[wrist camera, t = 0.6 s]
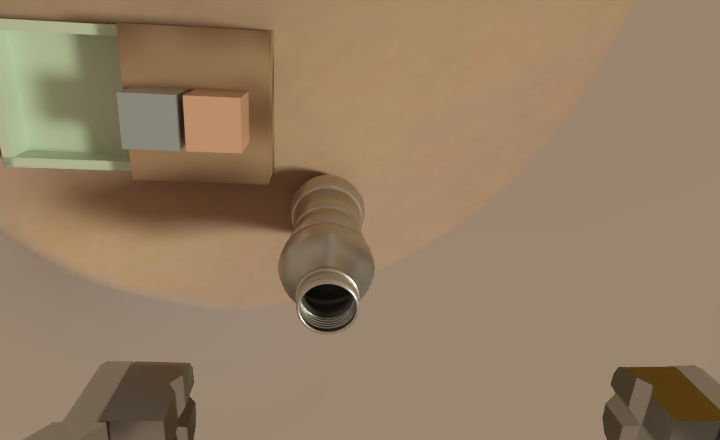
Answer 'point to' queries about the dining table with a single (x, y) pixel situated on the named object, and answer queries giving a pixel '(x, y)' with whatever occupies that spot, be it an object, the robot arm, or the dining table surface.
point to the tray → (60, 95)
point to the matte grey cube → (152, 118)
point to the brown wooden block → (211, 72)
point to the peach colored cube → (216, 121)
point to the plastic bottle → (326, 254)
